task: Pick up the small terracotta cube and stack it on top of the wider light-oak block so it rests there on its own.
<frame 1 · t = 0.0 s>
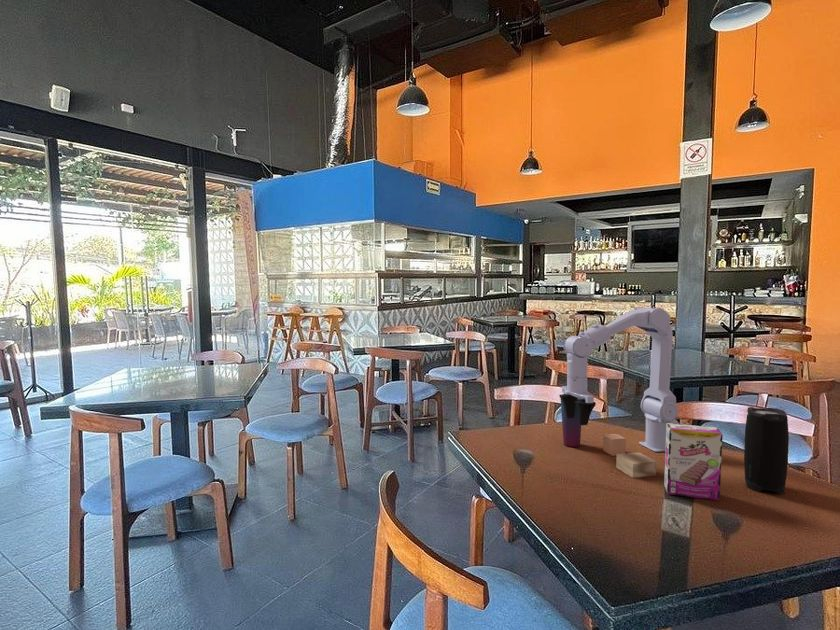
hand: (576, 421, 135), 10 cm above the table, tool pointing down, fingers open, 7 cm apart
candy bar box: (691, 494, 109), on the table
portable speaker: (764, 488, 112), on the table
oak block: (635, 472, 123), on the table
terracotta cube: (614, 452, 137), on the table
cup: (571, 445, 144), on the table, touching gripper
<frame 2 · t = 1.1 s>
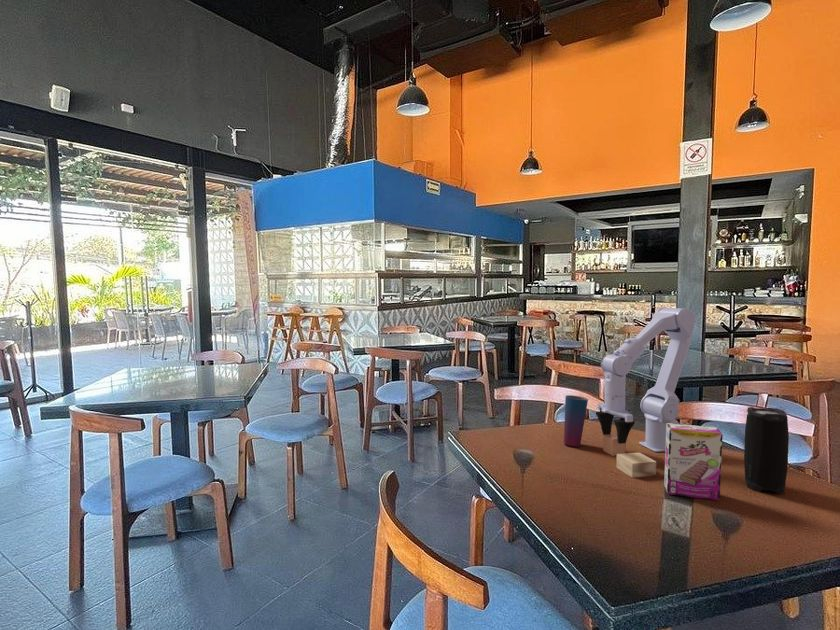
hand: (614, 438, 137), 4 cm above the table, tool pointing down, fingers open, 7 cm apart
cup: (571, 444, 144), on the table
everything else where it was.
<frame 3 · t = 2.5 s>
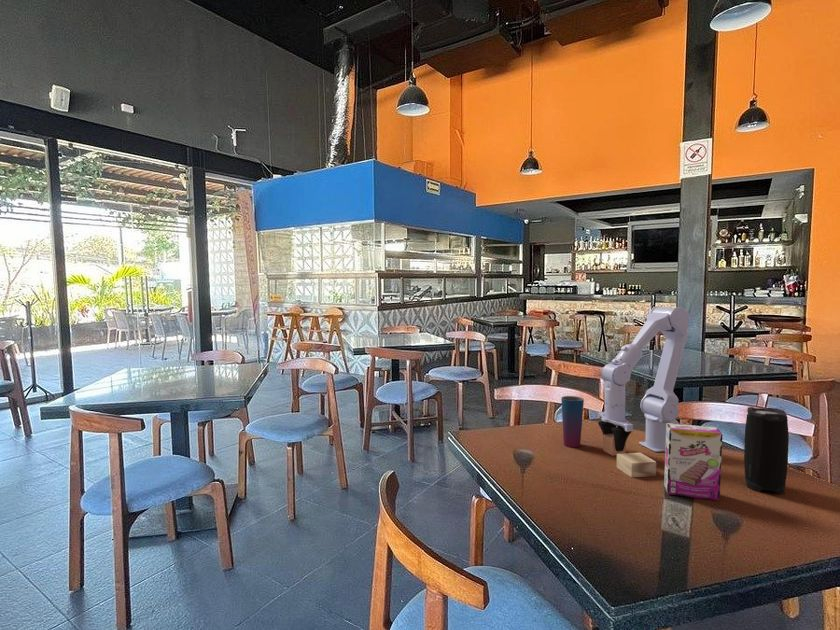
hand: (614, 447, 137), 1 cm above the table, tool pointing down, fingers closed on terracotta cube, 4 cm apart
terracotta cube: (614, 452, 137), on the table, touching gripper
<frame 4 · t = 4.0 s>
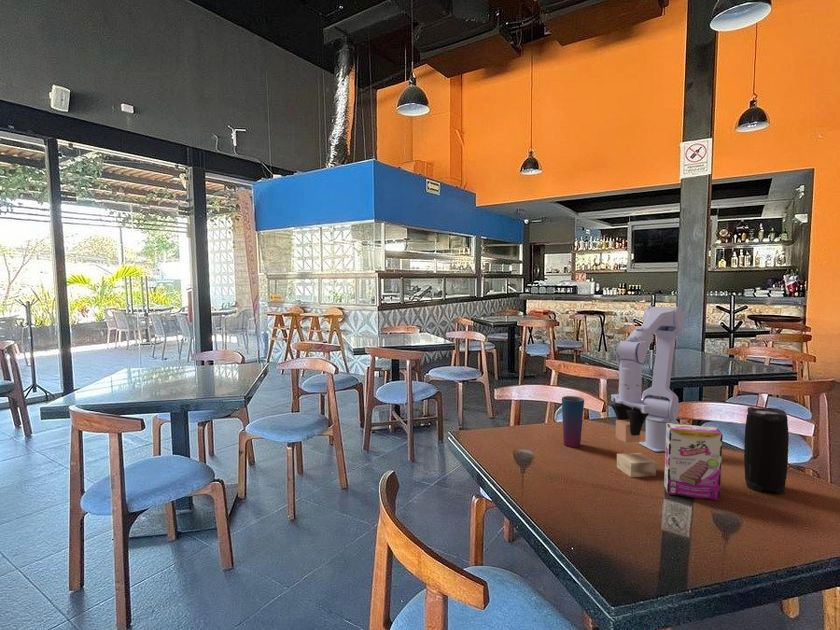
hand: (629, 432, 126), 10 cm above the table, tool pointing down, fingers closed on terracotta cube, 4 cm apart
terracotta cube: (627, 439, 126), point 8 cm above the table, touching gripper
everything else where it was.
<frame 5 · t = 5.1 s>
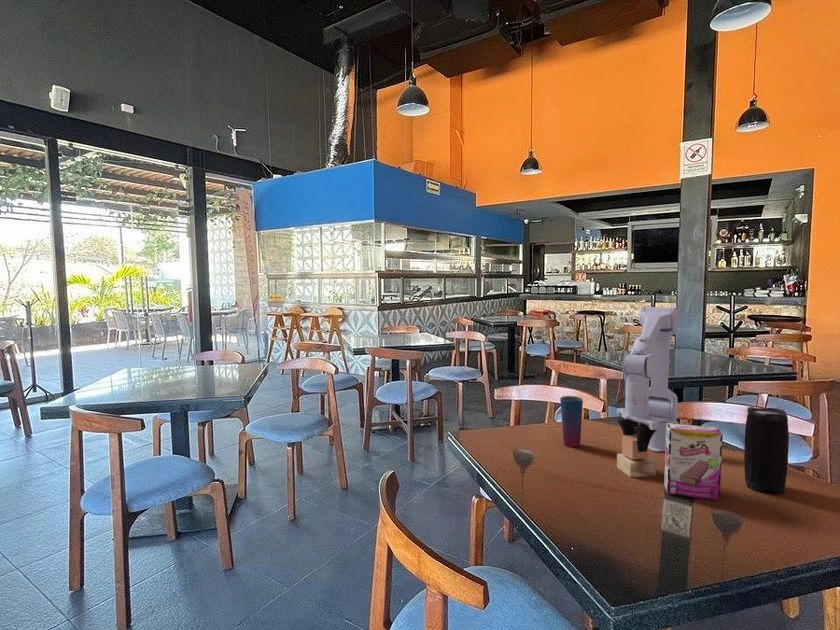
hand: (636, 448, 122), 6 cm above the table, tool pointing down, fingers closed on terracotta cube, 4 cm apart
terracotta cube: (634, 455, 122), point 4 cm above the table, touching gripper
everything else where it was.
when the fingers open (6 cm above the table, at t = 5.7 s): terracotta cube stays where it is, resting on oak block.
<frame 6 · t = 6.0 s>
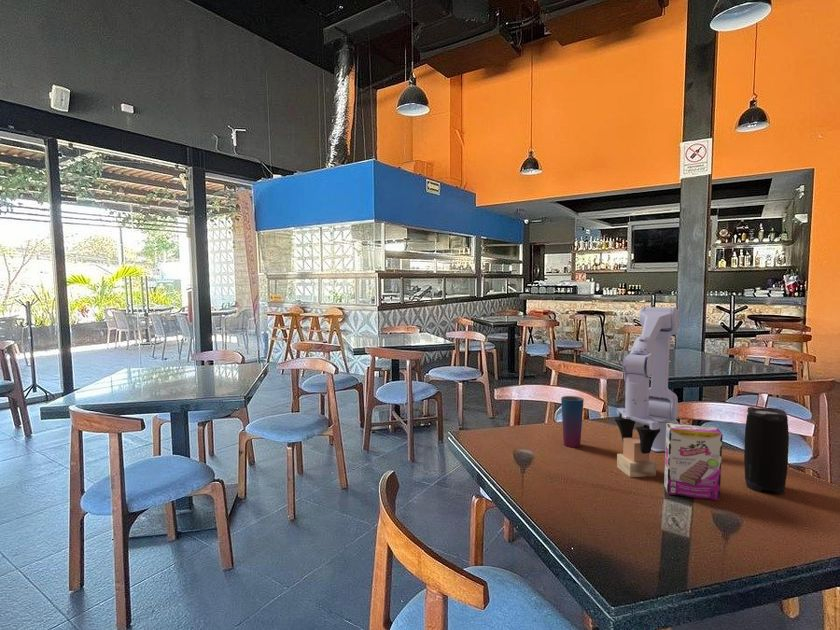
hand: (636, 448, 122), 6 cm above the table, tool pointing down, fingers open, 7 cm apart
oak block: (635, 472, 123), on the table, touching terracotta cube
terracotta cube: (635, 458, 122), point 4 cm above the table, touching oak block
everything else where it was.
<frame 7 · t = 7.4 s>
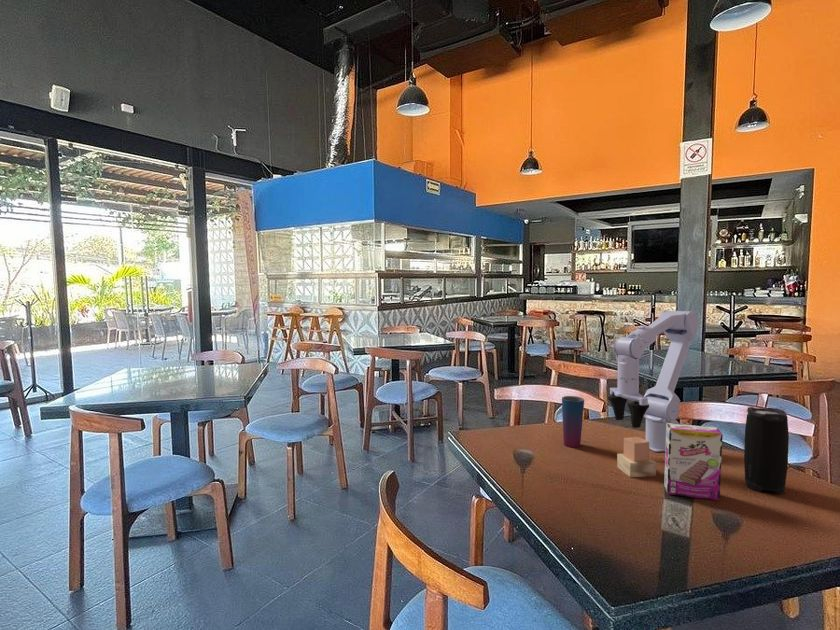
hand: (627, 423, 133), 10 cm above the table, tool pointing down, fingers open, 7 cm apart
nothing on the table moved.
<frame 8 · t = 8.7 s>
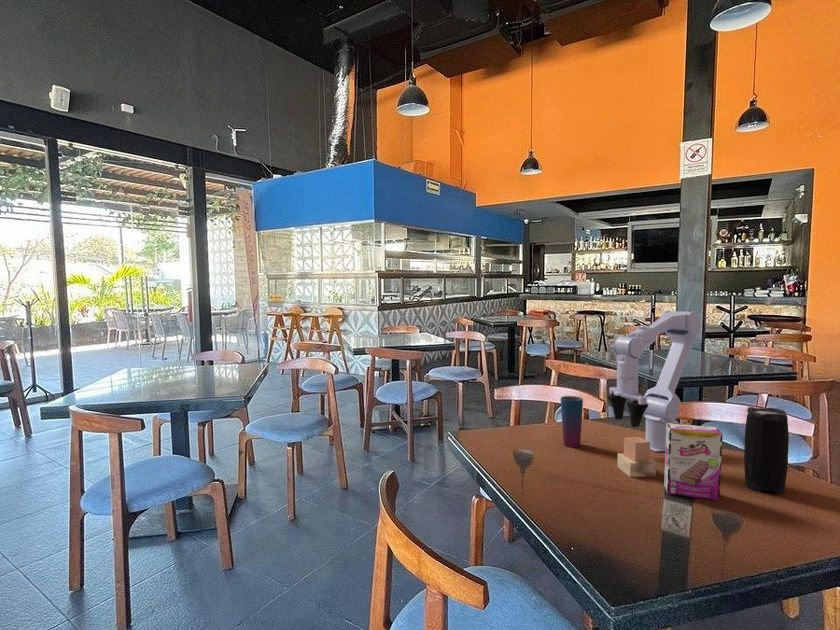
hand: (626, 422, 134), 10 cm above the table, tool pointing down, fingers open, 7 cm apart
nothing on the table moved.
at the end: terracotta cube 0.1 cm off-centre on the oak block, point 4.0 cm above the oak block's base; terracotta cube tilted 0°; the gripper is holding nothing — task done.
